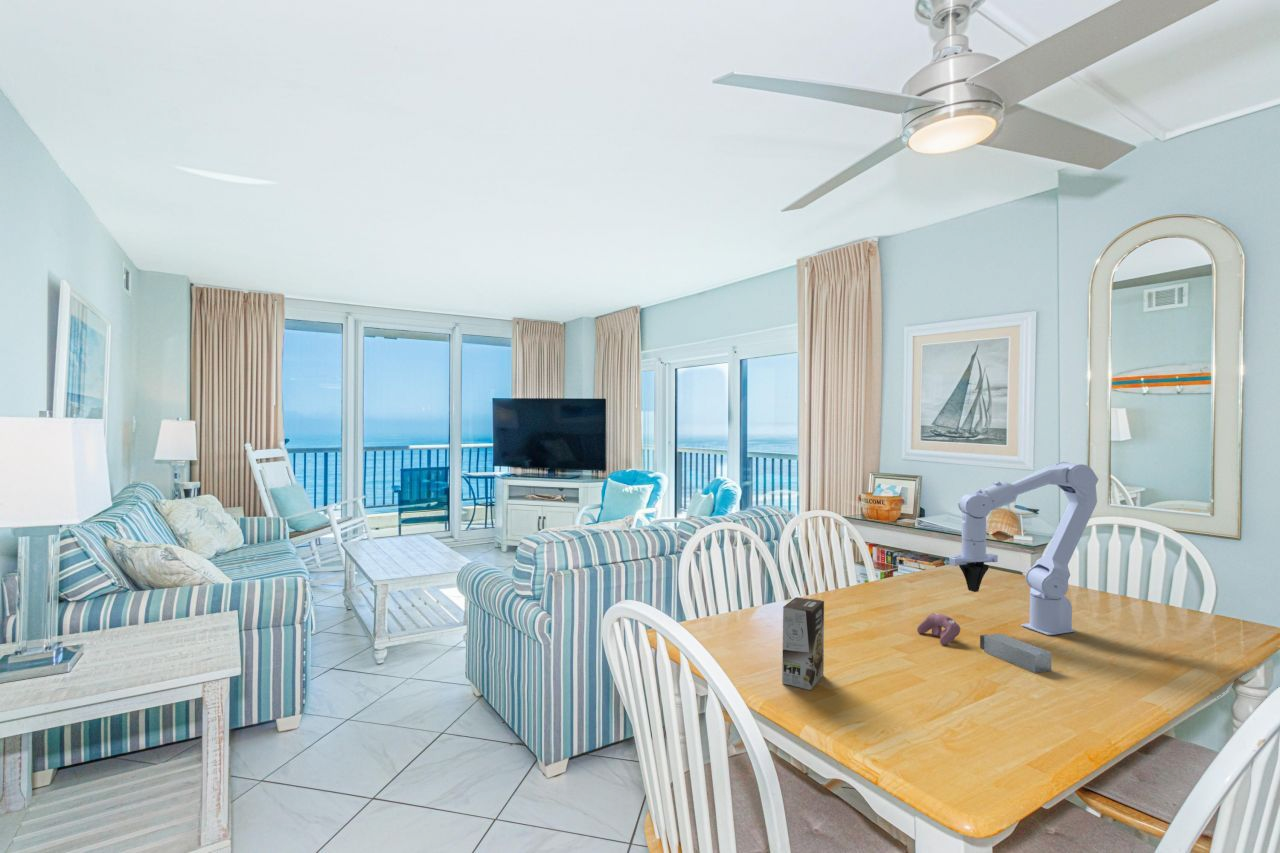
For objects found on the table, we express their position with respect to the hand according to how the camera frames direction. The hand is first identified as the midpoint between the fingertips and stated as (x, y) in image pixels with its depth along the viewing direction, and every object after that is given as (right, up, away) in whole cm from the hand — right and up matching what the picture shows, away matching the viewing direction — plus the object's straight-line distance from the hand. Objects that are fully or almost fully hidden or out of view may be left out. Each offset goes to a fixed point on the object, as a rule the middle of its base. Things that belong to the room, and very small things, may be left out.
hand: (973, 590), depth 165 cm
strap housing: (-3, -10, -23) cm, 25 cm away
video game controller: (-13, -10, -9) cm, 19 cm away
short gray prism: (-4, -10, -21) cm, 23 cm away
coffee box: (-54, -10, -34) cm, 65 cm away
